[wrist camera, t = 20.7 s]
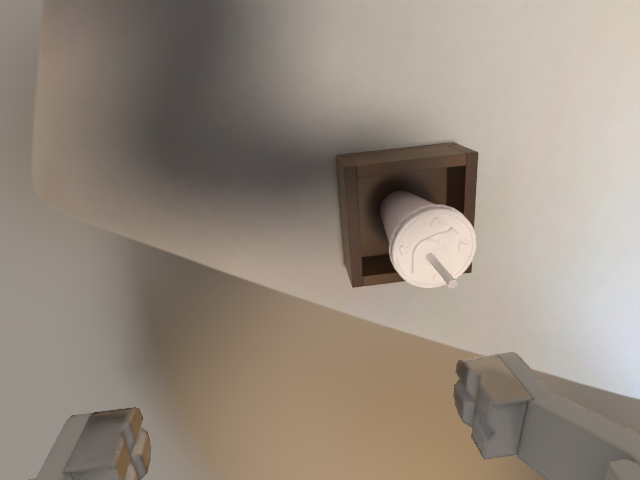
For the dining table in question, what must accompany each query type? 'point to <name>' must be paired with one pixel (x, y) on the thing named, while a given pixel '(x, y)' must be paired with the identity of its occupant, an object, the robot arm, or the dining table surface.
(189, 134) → the dining table surface
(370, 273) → the holder
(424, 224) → the smoothie
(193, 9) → the dining table surface
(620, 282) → the dining table surface
